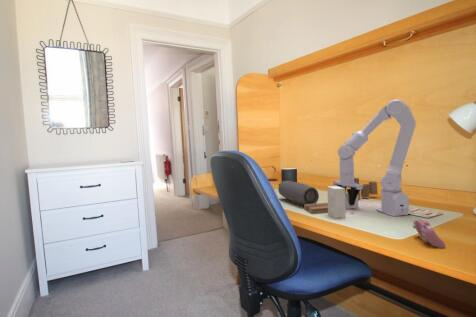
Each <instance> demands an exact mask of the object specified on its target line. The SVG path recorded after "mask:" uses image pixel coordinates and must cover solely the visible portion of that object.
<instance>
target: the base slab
mask: <svg viewBox="0 0 476 317" xmlns="http://www.w3.org/2000/svg"><path fill="white" fill-rule="evenodd" d="M303 207H304V210H305V211H306V212H308V213H310V214H311V215H315V214H317V215H318V214H328V202H321V203H318V202H317V203H316V204H305V205H303Z"/></svg>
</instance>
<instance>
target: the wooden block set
mask: <svg viewBox="0 0 476 317" xmlns="http://www.w3.org/2000/svg"><path fill="white" fill-rule="evenodd" d="M354 182H355V183H357V184H360V178H359V177H354ZM361 185H362V189H361V190H360V192H359V193H358V200H360V199H361V197H362V198H369V197H370V195H378V182H377V181H368V183H364V184H361Z"/></svg>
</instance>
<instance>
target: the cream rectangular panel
mask: <svg viewBox="0 0 476 317" xmlns="http://www.w3.org/2000/svg"><path fill="white" fill-rule="evenodd" d="M355 214H356V213H354V212H352V211H350V212H349V211H348V212H345V215H355Z"/></svg>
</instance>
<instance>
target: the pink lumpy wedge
mask: <svg viewBox="0 0 476 317" xmlns="http://www.w3.org/2000/svg"><path fill="white" fill-rule="evenodd" d="M412 228H413V229H414V230H416V232H417V234H418V236H419V238H420V239H421V240H422V241H423V242H424V243H425V244H431V245H432V246H433V247H434V248H438V249H445V248H446V243H445V242H444V241H443V240H442V239H441V237H440V236H439V235H438V234H437V233H436V231H435V230H434V228H433V227H432V225H431V223H430V222H429V221H427V220H424V219H416V220H413V225H412Z"/></svg>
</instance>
